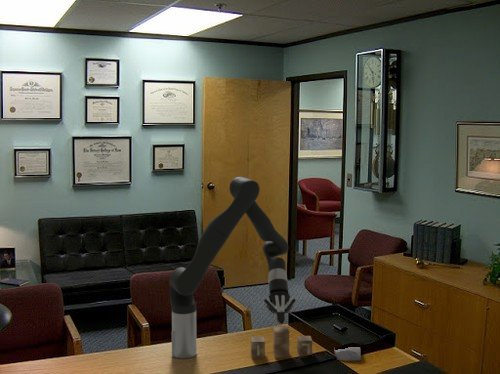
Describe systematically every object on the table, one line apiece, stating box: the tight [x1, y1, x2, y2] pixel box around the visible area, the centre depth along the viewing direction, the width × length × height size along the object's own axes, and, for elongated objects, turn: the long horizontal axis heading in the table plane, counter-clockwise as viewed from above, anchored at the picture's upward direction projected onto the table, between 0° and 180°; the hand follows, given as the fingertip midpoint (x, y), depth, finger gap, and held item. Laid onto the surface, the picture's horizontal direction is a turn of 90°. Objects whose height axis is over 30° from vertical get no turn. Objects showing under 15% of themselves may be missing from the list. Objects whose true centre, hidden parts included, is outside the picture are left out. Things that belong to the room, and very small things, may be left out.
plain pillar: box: [273, 326, 290, 359], centre depth 220 cm, size 6×6×10 cm
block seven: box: [296, 335, 313, 357], centre depth 220 cm, size 5×5×6 cm
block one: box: [250, 336, 266, 359], centre depth 219 cm, size 5×5×6 cm
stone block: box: [333, 347, 362, 362], centre depth 221 cm, size 12×5×10 cm
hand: (281, 322), depth 219 cm, fingers closed
